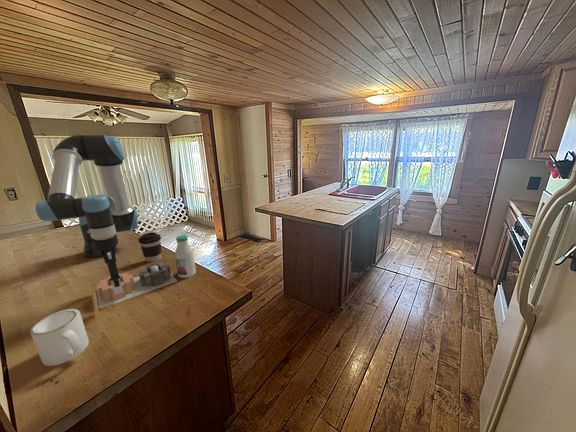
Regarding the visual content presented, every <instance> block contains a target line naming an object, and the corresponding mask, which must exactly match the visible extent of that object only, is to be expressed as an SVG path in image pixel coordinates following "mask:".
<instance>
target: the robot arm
mask: <svg viewBox="0 0 576 432" xmlns="http://www.w3.org/2000/svg"><path fill="white" fill-rule="evenodd" d="M52 158H53V160H54V165H53V171H52V174H51V180H50V186H49V190H48V195H47V200H46V199H44V200H40V201H37V202H36V204H35V212H36V215H37V217H38V219H40V220H41V221H44V222H53V221H62V220H63V221H64V220H69V219H78V222H79V225H78V226H79V227H80V231H81V233H82V237H83V238H82V239H83V242H84V245H83V250H82V253H83V257H85V258H89V259H90V258H91V259H92V258H93V259H94V258H100V257H101V258H103V260H104V263H105V264H106V266H107V267H106V268H107V270H108V271H107V272H108V274H109V276H111V278H110V279H109V281H111V282H112V286H113V290H114V294H115V295H116V294H118V293H121V292H123V289H122V285H121V281H120V276H119V274H120V273H119V270H118V265H117V258H116V251H117V250H118V246H117V245H118V244H119V238H118V235H117V233H121V232H130V231H135V230H137V229H138V227H139V225H138V224H139V223H138V222H139V221H138V220H139V218H138V215H139V214H138V210H137V209H134V207H133V206H132V205H130V202H129V198H128V194H127V190H126V186H125V185H126V184H125V181H124V176H123V174H122V173H123V172H122V168H121V165H123V163H124V162H123V161H124V160H126V156H125V151H124V148H123V146H122V143H121V141H120V140H119V138H118V137H117V136H115V135H107V134H103V135H102V134H97V135H96V134H95V135H94V134H93V135H92V134H86V135H85V134H75V135H70V136H68V137H65V138H64V139H63V140H61V141H60V142H59V143H58V144H57V145H56V146H55V148H54V149H53V152H52ZM83 161H93V163H94V165H95V166H96V167H98V168H99V171H100V174H101V177H102V181H103V185H104V188H105V192H106V194H92V195H91V194H90V195H87V196H84V197H76V193H77V185H78V175H79V167H80V166H81V165H82V163H83Z"/></svg>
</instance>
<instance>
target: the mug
mask: <svg viewBox="0 0 576 432" xmlns="http://www.w3.org/2000/svg"><path fill="white" fill-rule="evenodd" d="M83 321H84V320H83V318H82V315H81V311H80V310H78V309H75V308H67V309H63V310H58V311H56V312H53V313H51V314H47V315H46V316H45V317H43V318H41V319H39V320H38V321H37V322H35V323H34V324H33V325H32V327H30V330H29V333H30V336H31V338H32V340H33V344H34V346H35V348H36V350H37V353H38V356H39V358H40V360H41V363H42V364H43V366H47V367H55V366H59V365H61V364H65V363H67V362H69V361H71V360H73V359H74V358H76V357H78V356H79V355H81V354H82V353H84V351H85V350H86V348H87V347H88V345H89V342H90V341H89V337H88V334H87V331H86V328H85V324H84V322H83Z"/></svg>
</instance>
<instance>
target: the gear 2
mask: <svg viewBox="0 0 576 432" xmlns="http://www.w3.org/2000/svg"><path fill="white" fill-rule="evenodd" d="M152 266H158V270H159V271H156V272H152V273H151V270H150V267H152ZM171 274H172V272H171V267H170V265H169V263H164V261H162V262H159V263H157V262H156V263H155V262H154V263H151V264H148V265H146V267H142V268H140V271H138V276H139V277H140V282H141V284H142V286H144V285H146V286H147V287H150V286H152V285H154V286H157V285H160V284H163V283H165V281H168V280H170V277H171Z"/></svg>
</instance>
